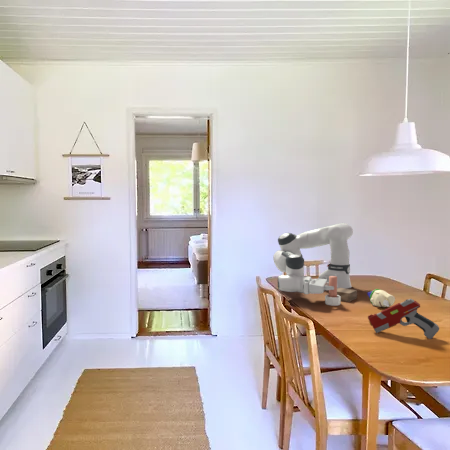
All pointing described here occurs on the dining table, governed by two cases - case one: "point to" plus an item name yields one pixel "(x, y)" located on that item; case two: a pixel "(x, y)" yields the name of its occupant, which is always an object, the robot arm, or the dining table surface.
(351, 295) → the stand
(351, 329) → the dining table surface
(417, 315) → the toy gun
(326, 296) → the white nut
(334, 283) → the dowel
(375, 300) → the cartoon head
